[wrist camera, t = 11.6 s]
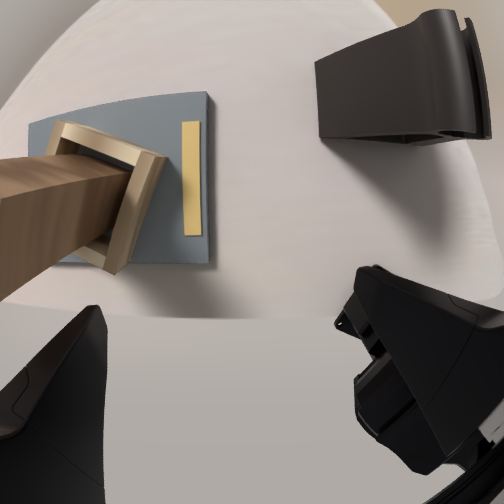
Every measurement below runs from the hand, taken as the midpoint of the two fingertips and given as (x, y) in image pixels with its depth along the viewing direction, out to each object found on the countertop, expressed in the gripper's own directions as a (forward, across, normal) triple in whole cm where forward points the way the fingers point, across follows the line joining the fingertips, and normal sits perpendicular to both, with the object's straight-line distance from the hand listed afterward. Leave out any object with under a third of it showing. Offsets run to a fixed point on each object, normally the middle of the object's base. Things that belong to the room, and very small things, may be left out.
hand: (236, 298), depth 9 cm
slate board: (+15, +7, -1) cm, 17 cm away
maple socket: (+14, +8, -1) cm, 16 cm away
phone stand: (+12, -13, -7) cm, 19 cm away
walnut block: (+14, +8, -1) cm, 16 cm away
